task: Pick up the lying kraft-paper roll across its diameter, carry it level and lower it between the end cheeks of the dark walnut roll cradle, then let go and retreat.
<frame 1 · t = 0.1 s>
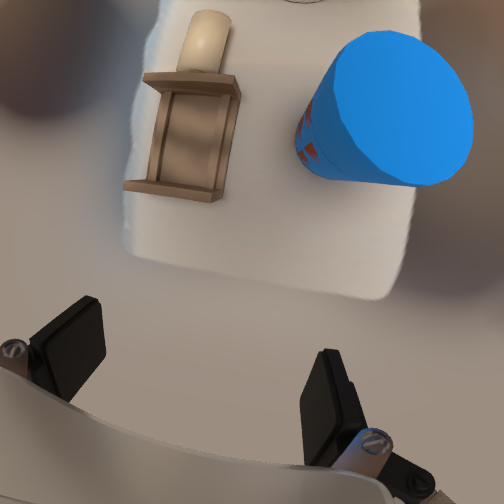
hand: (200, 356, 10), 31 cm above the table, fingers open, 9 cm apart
cradle: (191, 139, 37), on the table
thermos: (330, 143, 36), on the table
kraft roll: (208, 51, 33), on the table
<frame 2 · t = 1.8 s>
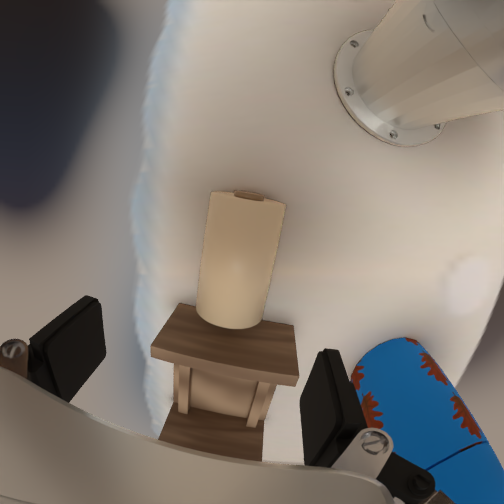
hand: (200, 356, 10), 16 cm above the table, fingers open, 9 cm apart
cradle: (225, 372, 30), on the table
thermos: (388, 370, 29), on the table
kraft roll: (242, 248, 26), on the table
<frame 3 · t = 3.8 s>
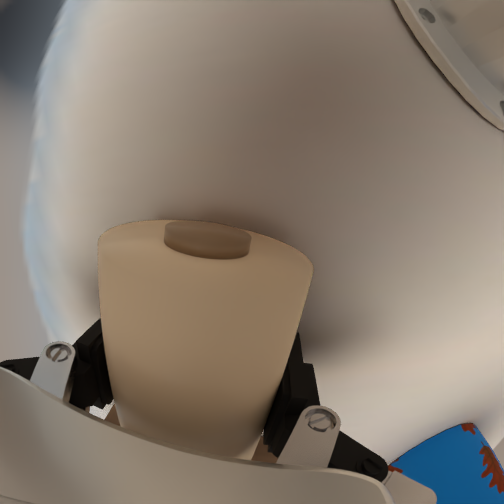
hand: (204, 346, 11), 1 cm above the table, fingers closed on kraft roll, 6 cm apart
cradle: (201, 476, 16), on the table
thermos: (429, 458, 15), on the table
kraft roll: (210, 335, 12), on the table, touching gripper
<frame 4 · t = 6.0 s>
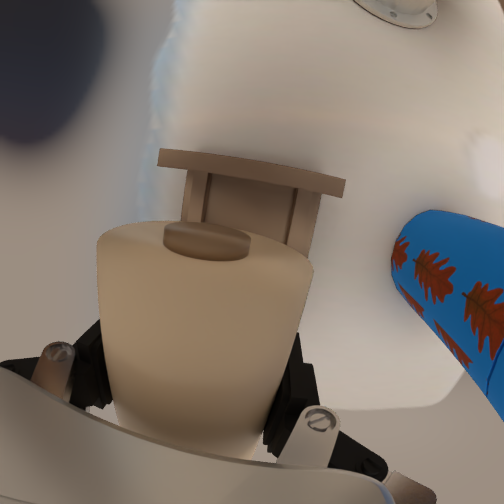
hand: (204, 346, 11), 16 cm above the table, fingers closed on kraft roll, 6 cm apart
cradle: (242, 249, 26), on the table
thermos: (430, 257, 25), on the table
kraft roll: (210, 336, 12), point 15 cm above the table, touching gripper
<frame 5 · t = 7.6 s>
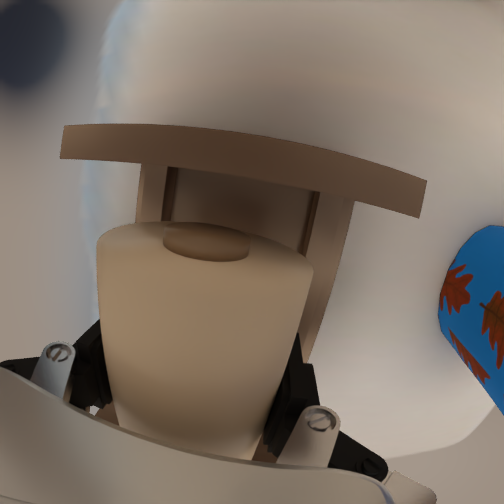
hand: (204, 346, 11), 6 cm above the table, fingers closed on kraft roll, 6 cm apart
cradle: (228, 285, 17), on the table
thermos: (483, 288, 16), on the table
kraft roll: (210, 336, 12), point 5 cm above the table, touching gripper
when the fingers open (3 cm above the table, at t = 8.6 s): kraft roll drops 2 cm, resting on cradle.
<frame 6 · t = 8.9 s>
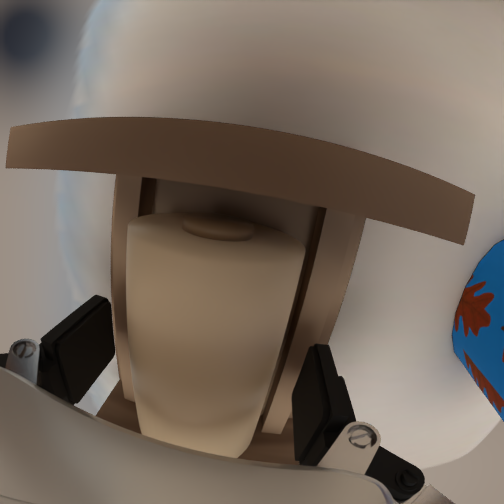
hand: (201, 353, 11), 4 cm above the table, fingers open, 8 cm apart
cradle: (218, 308, 14), on the table
thermos: (499, 303, 14), on the table
kraft roll: (217, 316, 13), point 1 cm above the table, touching cradle
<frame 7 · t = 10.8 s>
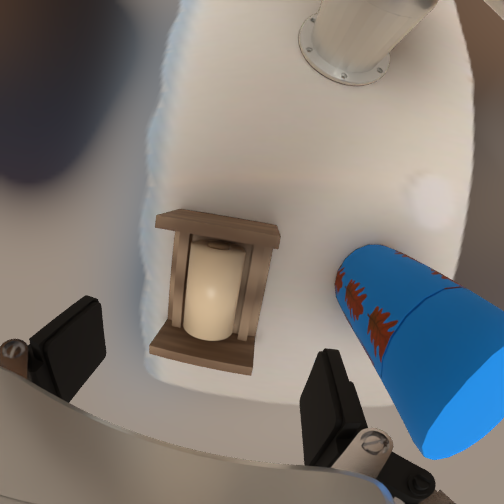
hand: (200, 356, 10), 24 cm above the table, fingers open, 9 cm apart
cradle: (218, 278, 35), on the table
thermos: (370, 282, 34), on the table
kraft roll: (217, 281, 34), point 1 cm above the table, touching cradle
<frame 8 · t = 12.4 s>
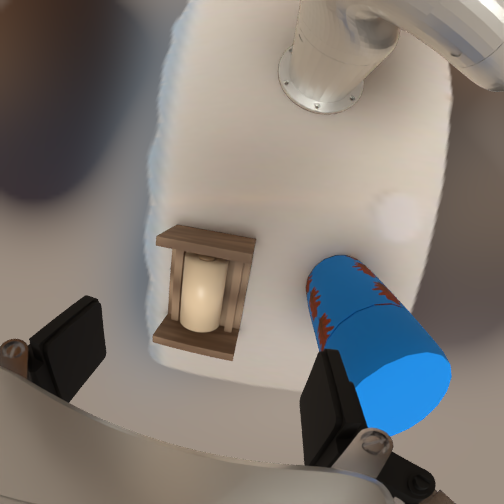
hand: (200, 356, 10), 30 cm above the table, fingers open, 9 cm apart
cradle: (208, 281, 42), on the table
thermos: (338, 286, 41), on the table
kraft roll: (207, 283, 41), point 1 cm above the table, touching cradle
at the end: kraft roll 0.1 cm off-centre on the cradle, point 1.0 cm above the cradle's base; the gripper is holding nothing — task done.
